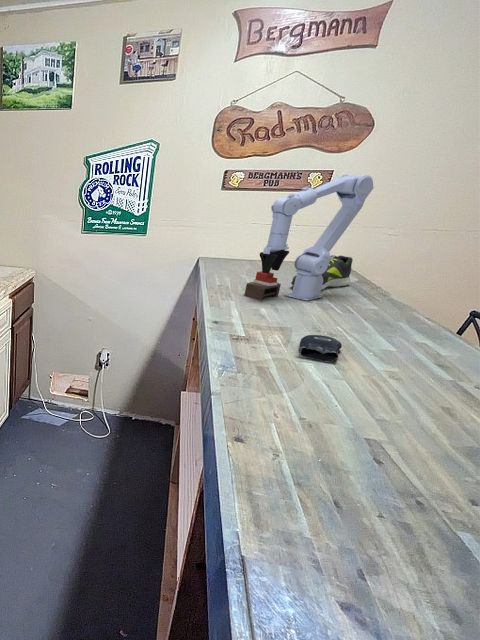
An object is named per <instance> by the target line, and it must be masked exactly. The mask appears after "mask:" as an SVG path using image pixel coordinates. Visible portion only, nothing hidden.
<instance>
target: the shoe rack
mask: <svg viewBox="0 0 480 640" xmlns="http://www.w3.org/2000/svg"><path fill="white" fill-rule="evenodd" d="M281 285H282V284H281V283H279V282H277V285H274V286H267V285H263V284H259V283H255V282H253V281H251V282H247V283H246V285H245V289H244V297H248V298H252V299H255V300H259V301H263V299H264V297H268V296H271V297H275V298H278V297H279V294H280V289H281Z"/></svg>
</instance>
